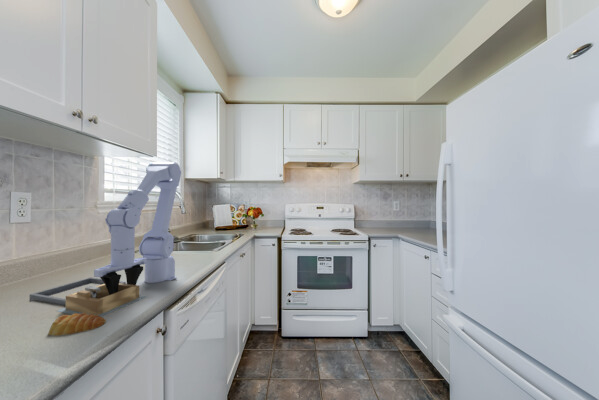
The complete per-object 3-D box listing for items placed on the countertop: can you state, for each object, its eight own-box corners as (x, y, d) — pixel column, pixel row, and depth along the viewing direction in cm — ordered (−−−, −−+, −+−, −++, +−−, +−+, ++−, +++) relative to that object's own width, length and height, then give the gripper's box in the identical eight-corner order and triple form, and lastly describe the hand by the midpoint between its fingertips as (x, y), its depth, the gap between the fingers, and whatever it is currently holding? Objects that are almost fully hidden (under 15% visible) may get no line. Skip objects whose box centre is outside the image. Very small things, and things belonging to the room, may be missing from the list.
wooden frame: (110, 293, 74) (110, 276, 74) (139, 297, 71) (139, 280, 71) (65, 309, 63) (65, 290, 63) (97, 315, 60) (97, 295, 60)
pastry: (111, 322, 59) (111, 306, 59) (95, 337, 53) (95, 320, 53) (66, 326, 57) (66, 310, 57) (43, 343, 50) (43, 324, 50)
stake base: (111, 294, 76) (111, 291, 76) (146, 299, 72) (146, 296, 72) (55, 314, 62) (55, 310, 62) (95, 322, 58) (95, 318, 58)
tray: (90, 283, 85) (90, 277, 85) (125, 288, 80) (125, 281, 80) (29, 302, 69) (29, 294, 69) (68, 309, 65) (68, 301, 65)
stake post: (90, 305, 65) (90, 286, 65) (101, 307, 64) (101, 287, 64) (83, 308, 64) (84, 288, 64) (95, 310, 63) (95, 289, 63)
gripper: (135, 243, 80) (134, 284, 80) (85, 252, 66) (85, 302, 66) (152, 244, 78) (151, 286, 78) (105, 254, 64) (104, 305, 64)
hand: (122, 294), depth 72 cm, fingers open, 5 cm apart
